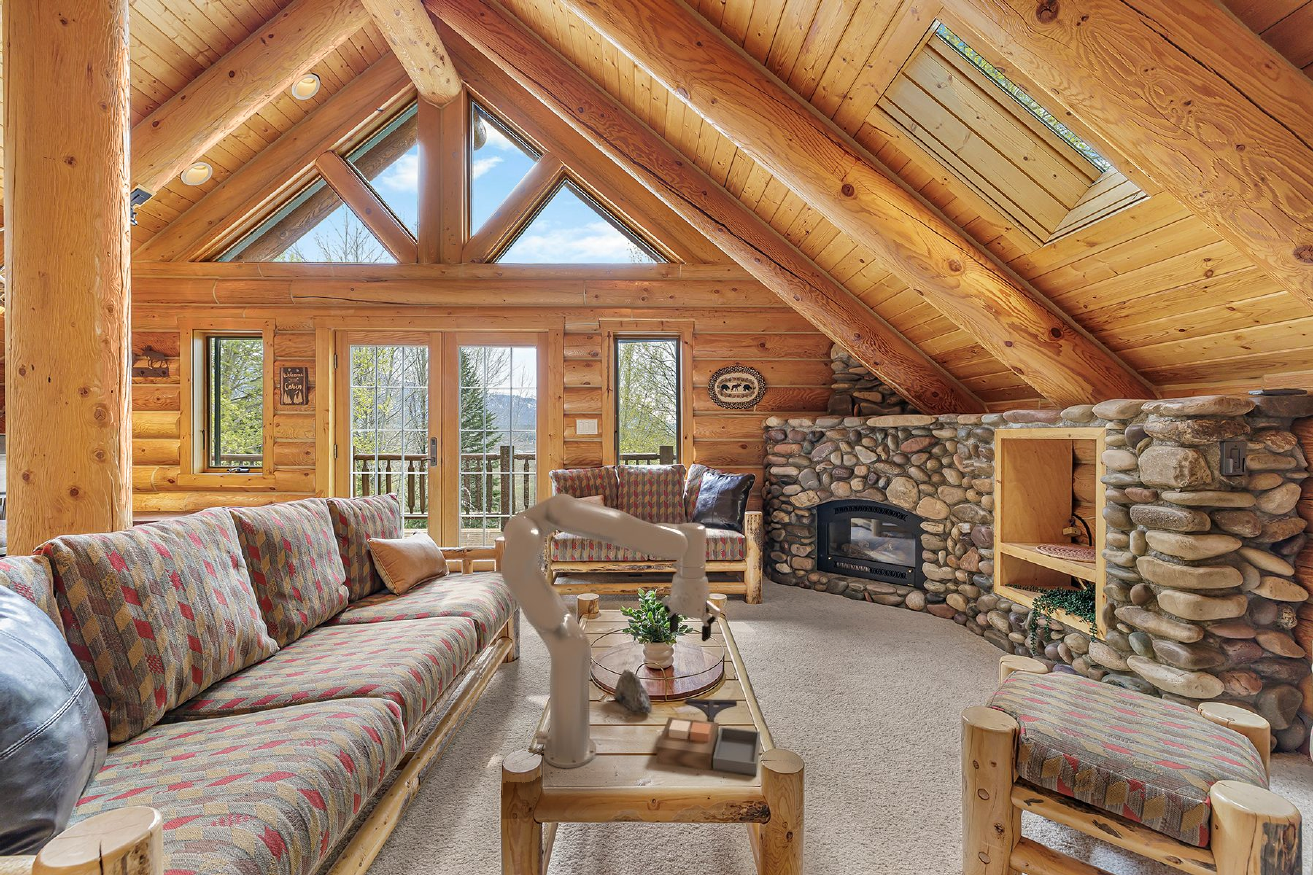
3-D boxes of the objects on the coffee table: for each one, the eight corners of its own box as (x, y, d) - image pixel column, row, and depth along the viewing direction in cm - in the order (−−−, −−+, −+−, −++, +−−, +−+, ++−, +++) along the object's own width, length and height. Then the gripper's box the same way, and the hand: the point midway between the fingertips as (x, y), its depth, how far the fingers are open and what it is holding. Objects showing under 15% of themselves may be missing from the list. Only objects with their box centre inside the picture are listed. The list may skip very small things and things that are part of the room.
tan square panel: (656, 762, 145) (656, 746, 145) (668, 731, 159) (668, 716, 158) (710, 770, 142) (710, 753, 142) (718, 737, 156) (718, 722, 155)
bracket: (684, 730, 160) (684, 720, 160) (686, 703, 175) (686, 693, 175) (739, 733, 159) (739, 723, 159) (736, 705, 174) (736, 695, 174)
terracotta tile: (690, 739, 148) (690, 731, 148) (693, 729, 152) (693, 722, 152) (708, 741, 147) (708, 733, 147) (711, 731, 151) (711, 724, 151)
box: (713, 770, 142) (713, 757, 142) (720, 738, 156) (720, 726, 155) (756, 776, 140) (756, 763, 140) (760, 743, 153) (760, 731, 153)
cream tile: (669, 736, 149) (669, 728, 149) (672, 727, 153) (672, 719, 153) (687, 739, 148) (687, 731, 148) (690, 729, 152) (690, 721, 152)
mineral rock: (652, 719, 165) (652, 683, 164) (612, 720, 165) (612, 684, 164) (651, 696, 178) (651, 663, 177) (614, 697, 177) (614, 663, 177)
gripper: (655, 568, 160) (654, 632, 161) (713, 580, 150) (711, 647, 151) (670, 562, 166) (669, 624, 167) (727, 573, 157) (725, 638, 157)
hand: (689, 635), depth 159 cm, fingers open, 9 cm apart
